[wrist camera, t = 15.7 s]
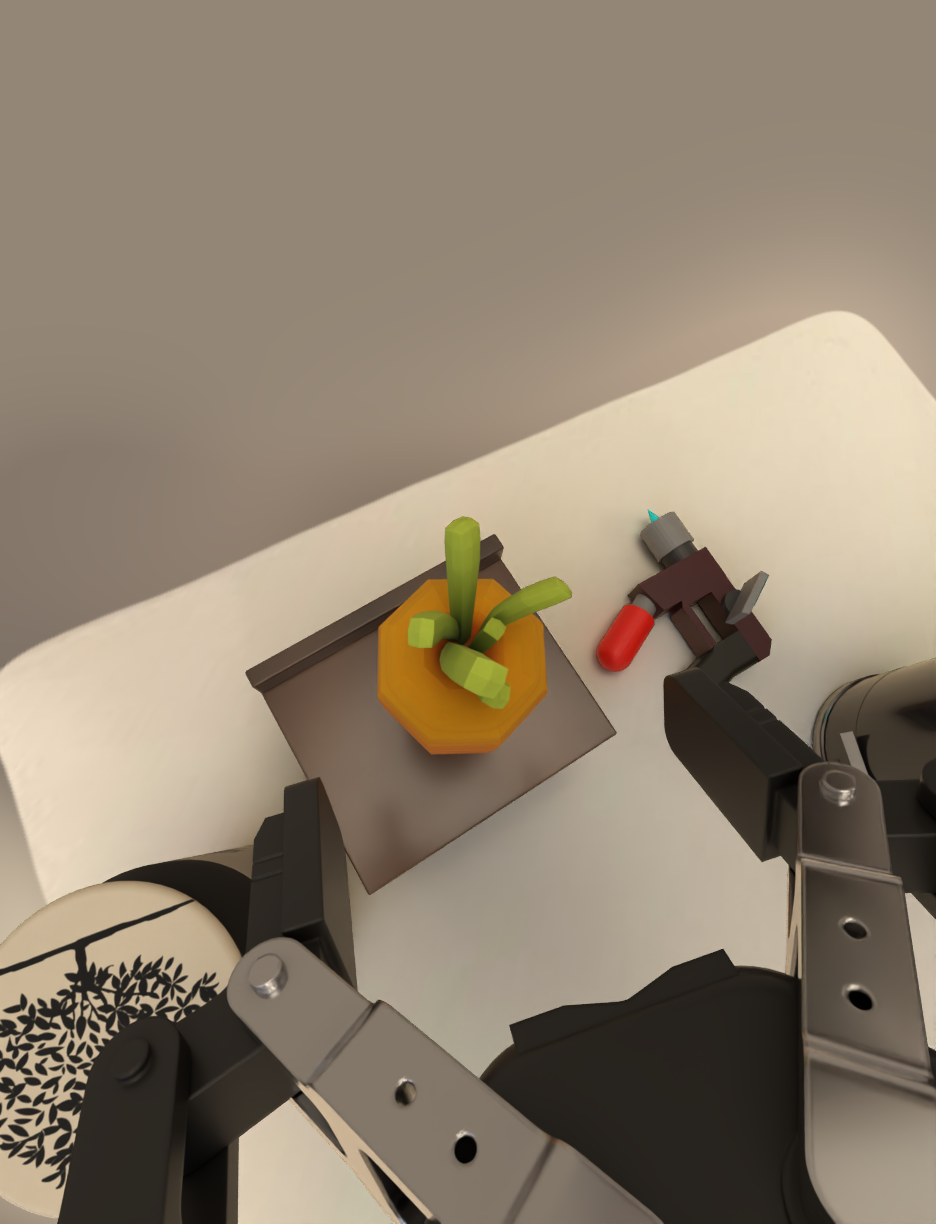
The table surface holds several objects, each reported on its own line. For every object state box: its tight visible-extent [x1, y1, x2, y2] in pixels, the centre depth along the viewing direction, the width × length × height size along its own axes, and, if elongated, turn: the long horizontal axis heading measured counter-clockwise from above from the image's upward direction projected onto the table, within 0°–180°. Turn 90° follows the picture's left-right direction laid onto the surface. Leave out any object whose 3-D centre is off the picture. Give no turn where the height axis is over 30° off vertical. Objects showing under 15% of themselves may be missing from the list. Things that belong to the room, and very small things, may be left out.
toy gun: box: [597, 510, 772, 684], centre depth 37 cm, size 10×12×5 cm
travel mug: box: [0, 845, 254, 1218], centre depth 25 cm, size 8×8×18 cm
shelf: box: [245, 534, 616, 895], centre depth 31 cm, size 12×10×11 cm
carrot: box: [377, 517, 572, 755], centre depth 20 cm, size 5×5×15 cm
